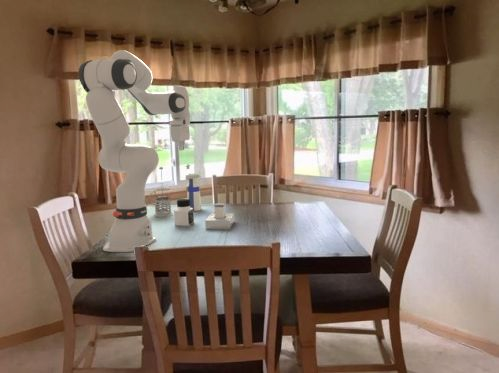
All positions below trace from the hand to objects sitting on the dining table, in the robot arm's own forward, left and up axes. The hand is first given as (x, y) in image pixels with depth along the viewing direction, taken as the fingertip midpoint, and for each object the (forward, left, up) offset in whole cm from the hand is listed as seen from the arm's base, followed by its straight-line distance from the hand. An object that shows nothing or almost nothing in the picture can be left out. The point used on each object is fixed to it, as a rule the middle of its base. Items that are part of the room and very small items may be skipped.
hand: (181, 150), depth 197 cm
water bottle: (+24, +1, -34) cm, 42 cm away
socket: (-10, -19, -34) cm, 41 cm away
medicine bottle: (-8, -2, -34) cm, 35 cm away
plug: (-10, -19, -33) cm, 40 cm away
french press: (+11, +15, -34) cm, 39 cm away
